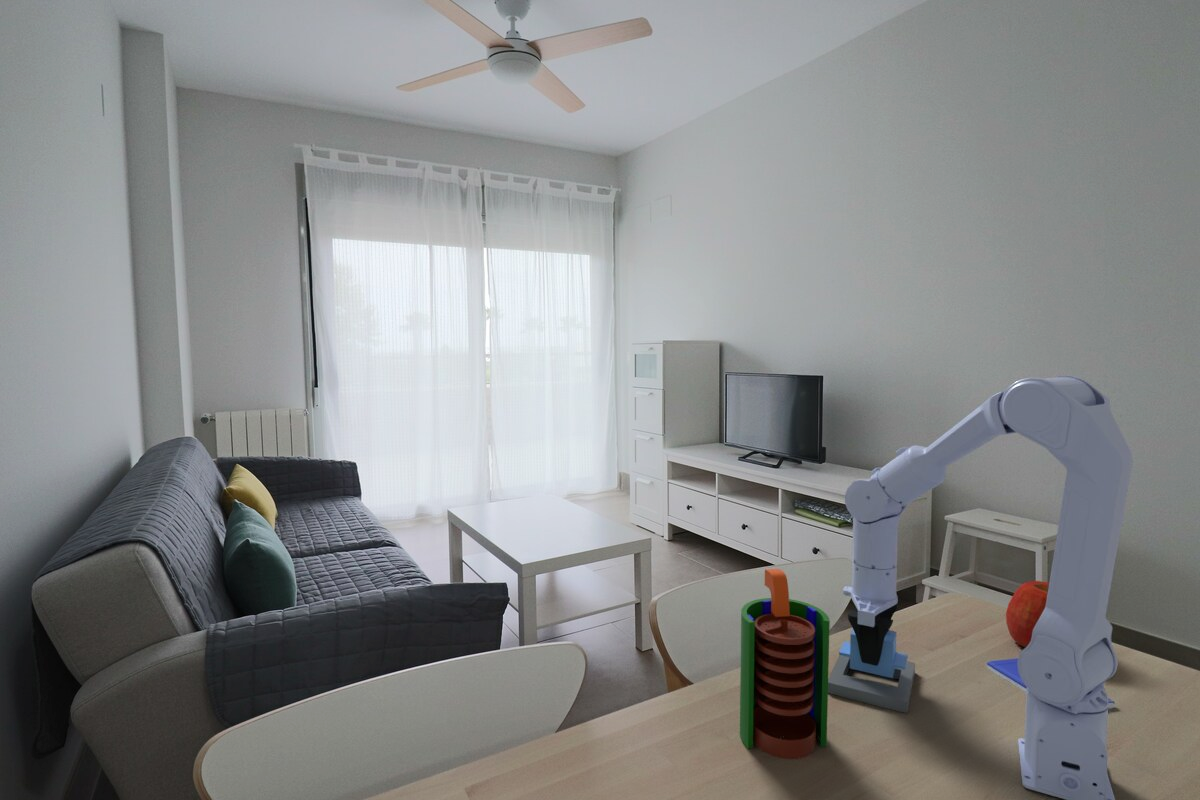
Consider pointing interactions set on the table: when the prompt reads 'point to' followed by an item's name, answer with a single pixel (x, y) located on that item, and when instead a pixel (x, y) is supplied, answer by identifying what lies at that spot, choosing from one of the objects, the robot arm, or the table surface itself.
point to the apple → (1026, 610)
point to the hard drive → (1016, 674)
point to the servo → (887, 659)
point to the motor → (783, 672)
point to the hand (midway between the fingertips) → (872, 656)
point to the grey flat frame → (872, 686)
